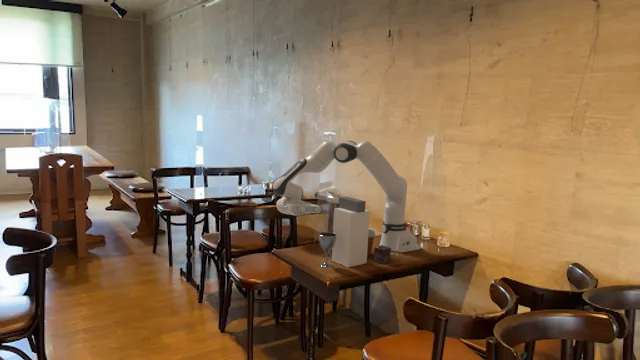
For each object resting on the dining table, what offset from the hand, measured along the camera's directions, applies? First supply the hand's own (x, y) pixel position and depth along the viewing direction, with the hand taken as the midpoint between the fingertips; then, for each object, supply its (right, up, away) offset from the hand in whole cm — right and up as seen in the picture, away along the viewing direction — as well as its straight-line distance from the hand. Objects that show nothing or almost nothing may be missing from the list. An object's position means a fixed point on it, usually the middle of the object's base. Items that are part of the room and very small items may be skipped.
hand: (312, 209), depth 264 cm
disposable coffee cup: (+27, -23, -7) cm, 36 cm away
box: (+34, -25, -19) cm, 46 cm away
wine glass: (+7, -25, -28) cm, 38 cm away
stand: (+18, -24, -22) cm, 37 cm away
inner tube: (+9, +5, -13) cm, 17 cm away
